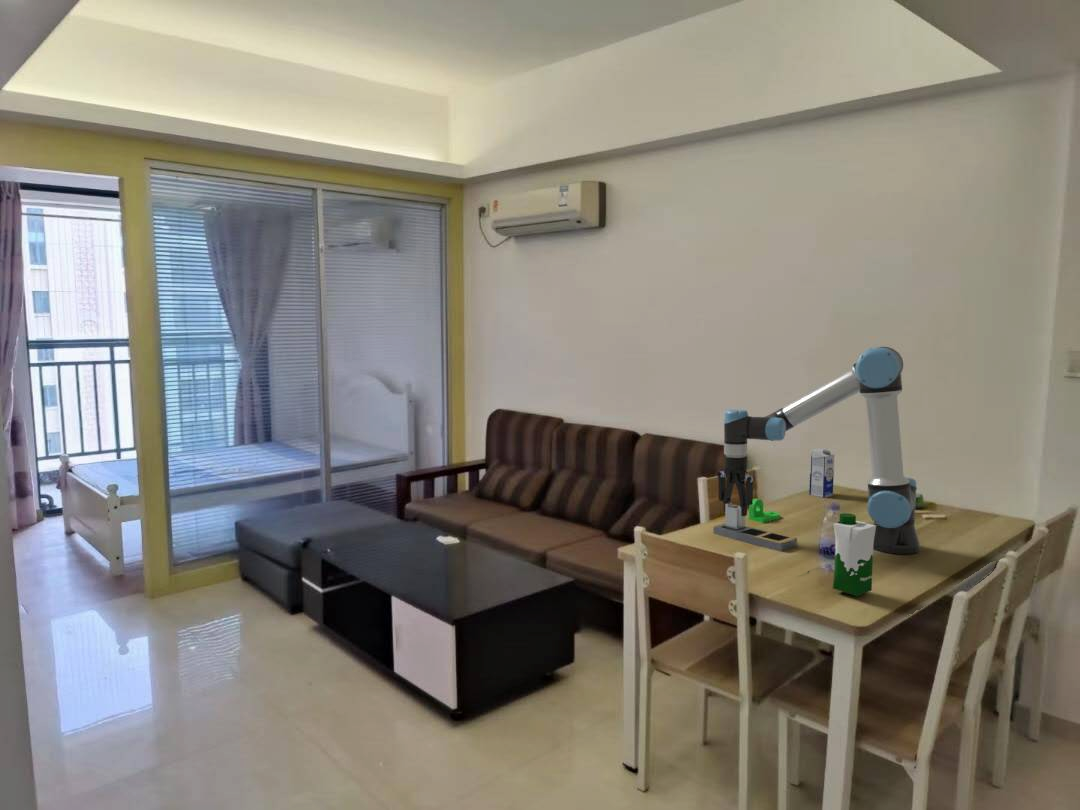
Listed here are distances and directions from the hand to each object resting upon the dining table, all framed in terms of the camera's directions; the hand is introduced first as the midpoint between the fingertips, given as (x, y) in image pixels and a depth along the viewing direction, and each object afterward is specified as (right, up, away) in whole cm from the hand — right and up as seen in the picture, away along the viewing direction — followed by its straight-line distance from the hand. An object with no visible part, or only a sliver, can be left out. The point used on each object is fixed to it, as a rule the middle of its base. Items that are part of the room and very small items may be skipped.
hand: (735, 523), depth 248 cm
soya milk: (+18, -10, -52) cm, 55 cm away
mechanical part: (+17, -2, +20) cm, 26 cm away
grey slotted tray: (+5, -5, -6) cm, 9 cm away
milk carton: (+50, +2, +54) cm, 74 cm away
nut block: (0, -2, 0) cm, 2 cm away
